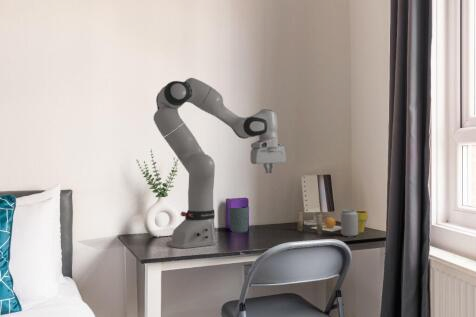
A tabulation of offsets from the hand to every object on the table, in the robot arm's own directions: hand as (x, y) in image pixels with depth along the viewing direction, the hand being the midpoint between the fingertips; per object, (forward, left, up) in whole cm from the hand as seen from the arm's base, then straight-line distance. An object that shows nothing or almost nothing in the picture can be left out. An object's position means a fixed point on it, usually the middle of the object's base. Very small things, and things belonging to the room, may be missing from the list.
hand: (269, 173), depth 222 cm
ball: (+33, -9, -26) cm, 43 cm away
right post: (+18, -15, -29) cm, 37 cm away
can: (+24, -28, -29) cm, 47 cm away
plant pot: (+35, -24, -29) cm, 52 cm away
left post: (+18, -2, -29) cm, 35 cm away
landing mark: (+33, -8, -29) cm, 45 cm away
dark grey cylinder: (-4, +18, -29) cm, 35 cm away
